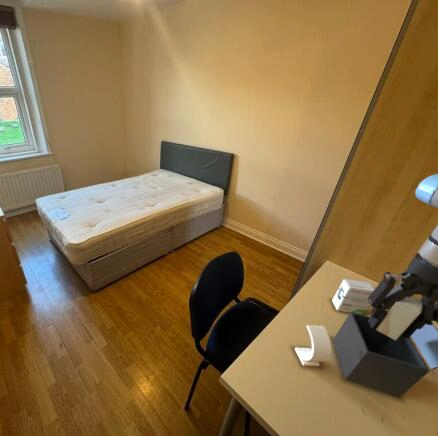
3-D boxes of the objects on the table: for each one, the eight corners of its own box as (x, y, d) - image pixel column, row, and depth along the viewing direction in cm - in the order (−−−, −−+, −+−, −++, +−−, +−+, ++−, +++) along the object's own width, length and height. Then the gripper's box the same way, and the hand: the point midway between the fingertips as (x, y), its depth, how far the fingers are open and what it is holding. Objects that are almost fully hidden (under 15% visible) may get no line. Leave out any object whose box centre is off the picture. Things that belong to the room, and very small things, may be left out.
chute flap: (403, 323, 65) (404, 324, 65) (430, 368, 54) (432, 369, 54) (424, 312, 61) (425, 313, 61) (457, 359, 51) (459, 360, 51)
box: (378, 318, 64) (399, 290, 58) (399, 329, 61) (424, 300, 55) (373, 329, 61) (395, 301, 55) (396, 341, 58) (421, 312, 52)
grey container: (379, 352, 72) (402, 325, 65) (399, 398, 61) (430, 371, 55) (333, 339, 76) (350, 311, 69) (345, 379, 65) (367, 352, 59)
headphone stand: (309, 349, 73) (323, 325, 67) (320, 369, 68) (337, 346, 62) (294, 348, 73) (307, 325, 67) (304, 369, 68) (319, 345, 62)
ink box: (357, 304, 87) (371, 282, 81) (364, 315, 83) (380, 292, 77) (331, 300, 89) (343, 277, 84) (336, 310, 85) (350, 287, 79)
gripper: (393, 261, 49) (348, 329, 61) (523, 286, 43) (445, 356, 54) (378, 242, 55) (339, 307, 67) (491, 261, 49) (426, 329, 60)
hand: (387, 329), depth 61 cm, fingers closed on box, 6 cm apart
